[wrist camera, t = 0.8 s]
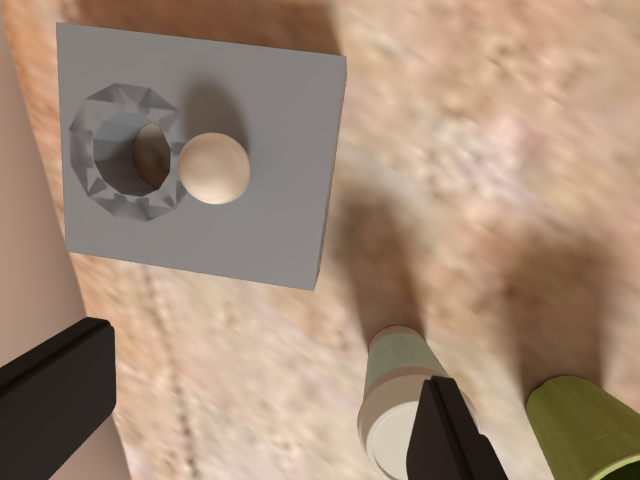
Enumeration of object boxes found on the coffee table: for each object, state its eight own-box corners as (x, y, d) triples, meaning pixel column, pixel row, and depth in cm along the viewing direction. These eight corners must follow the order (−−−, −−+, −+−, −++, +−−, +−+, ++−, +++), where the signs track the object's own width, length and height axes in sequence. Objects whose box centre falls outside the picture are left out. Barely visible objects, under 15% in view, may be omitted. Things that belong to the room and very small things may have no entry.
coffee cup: (402, 403, 35) (428, 522, 23) (338, 355, 34) (332, 452, 23) (459, 347, 33) (518, 446, 21) (392, 295, 32) (415, 368, 21)
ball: (199, 131, 26) (163, 123, 21) (262, 140, 26) (241, 134, 21) (196, 195, 27) (161, 202, 22) (256, 204, 27) (235, 213, 22)
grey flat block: (103, 45, 30) (55, 22, 25) (347, 74, 29) (346, 56, 24) (106, 239, 34) (65, 251, 29) (319, 272, 33) (313, 291, 28)
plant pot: (481, 380, 34) (543, 484, 23) (602, 334, 31) (736, 424, 20) (525, 470, 35) (603, 607, 24) (643, 432, 33) (787, 563, 22)
